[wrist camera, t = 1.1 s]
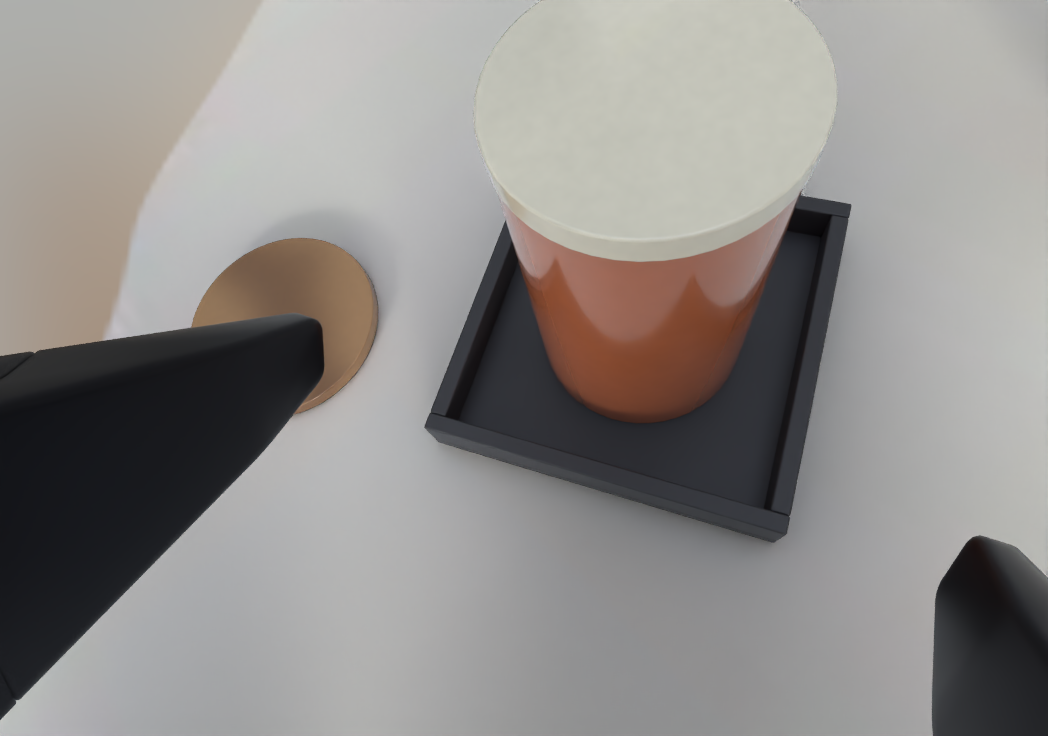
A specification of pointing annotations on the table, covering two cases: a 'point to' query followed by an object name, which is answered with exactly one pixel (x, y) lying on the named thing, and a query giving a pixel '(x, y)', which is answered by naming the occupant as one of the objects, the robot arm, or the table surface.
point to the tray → (669, 446)
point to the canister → (651, 182)
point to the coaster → (302, 301)
